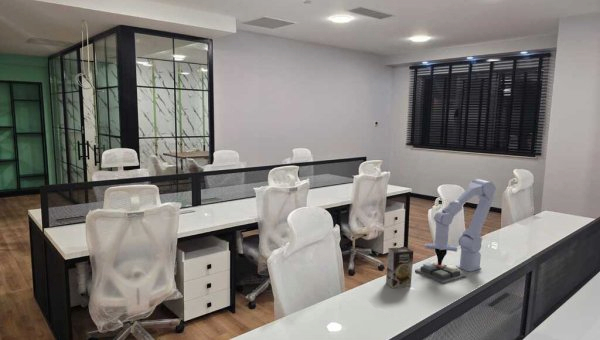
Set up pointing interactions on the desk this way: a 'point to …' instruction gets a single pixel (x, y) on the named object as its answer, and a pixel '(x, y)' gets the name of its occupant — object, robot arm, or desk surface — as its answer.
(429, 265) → the slate key
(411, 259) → the coffee box
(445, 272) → the sage key
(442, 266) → the terracotta key
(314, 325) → the desk surface
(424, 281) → the desk surface
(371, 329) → the desk surface
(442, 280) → the keypad
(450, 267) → the cream key
